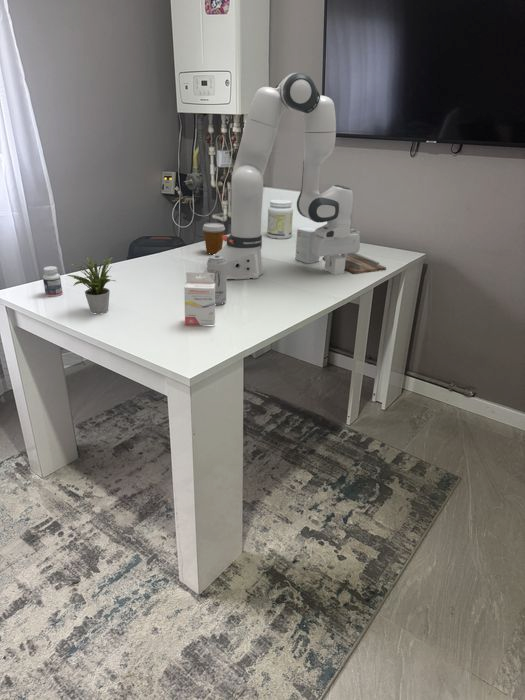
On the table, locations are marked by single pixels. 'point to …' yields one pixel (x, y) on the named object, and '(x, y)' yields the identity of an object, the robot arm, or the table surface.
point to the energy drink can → (218, 276)
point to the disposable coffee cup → (213, 237)
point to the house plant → (96, 286)
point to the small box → (305, 245)
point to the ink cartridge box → (199, 299)
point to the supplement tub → (280, 219)
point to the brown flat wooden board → (360, 264)
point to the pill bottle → (52, 282)
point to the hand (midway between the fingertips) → (334, 265)
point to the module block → (336, 264)
